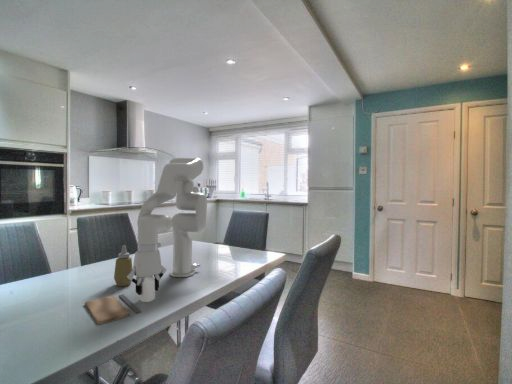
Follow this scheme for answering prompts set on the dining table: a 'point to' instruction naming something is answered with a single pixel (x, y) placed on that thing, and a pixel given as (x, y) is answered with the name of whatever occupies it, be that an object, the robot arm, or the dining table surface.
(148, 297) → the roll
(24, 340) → the dining table surface
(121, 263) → the squeeze bottle
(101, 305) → the board
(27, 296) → the dining table surface
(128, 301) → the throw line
